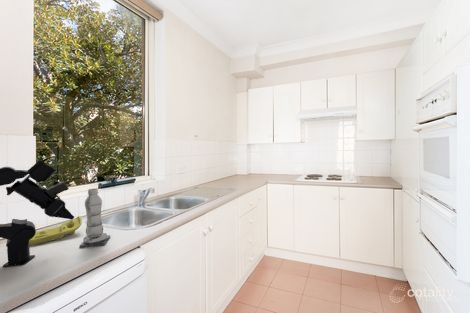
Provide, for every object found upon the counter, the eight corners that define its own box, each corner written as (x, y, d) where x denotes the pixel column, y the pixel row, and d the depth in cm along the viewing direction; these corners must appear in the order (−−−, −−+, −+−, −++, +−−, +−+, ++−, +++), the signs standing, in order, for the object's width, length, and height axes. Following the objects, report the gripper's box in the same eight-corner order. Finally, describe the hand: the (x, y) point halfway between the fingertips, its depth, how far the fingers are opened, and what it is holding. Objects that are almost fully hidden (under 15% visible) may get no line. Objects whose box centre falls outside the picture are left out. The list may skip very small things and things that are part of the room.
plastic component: (26, 241, 98) (25, 225, 104) (29, 254, 101) (28, 238, 107) (83, 226, 110) (79, 213, 117) (84, 238, 113) (80, 225, 120)
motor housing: (104, 245, 98) (104, 239, 98) (79, 248, 96) (79, 241, 96) (110, 237, 107) (109, 231, 107) (87, 239, 104) (87, 233, 104)
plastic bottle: (102, 232, 106) (101, 187, 105) (104, 237, 100) (102, 189, 99) (85, 235, 102) (83, 189, 101) (86, 240, 96) (83, 191, 95)
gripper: (55, 177, 84) (92, 202, 92) (49, 173, 98) (82, 196, 106) (27, 203, 79) (69, 228, 87) (24, 195, 93) (61, 217, 101)
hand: (71, 215), depth 95 cm, fingers open, 9 cm apart
